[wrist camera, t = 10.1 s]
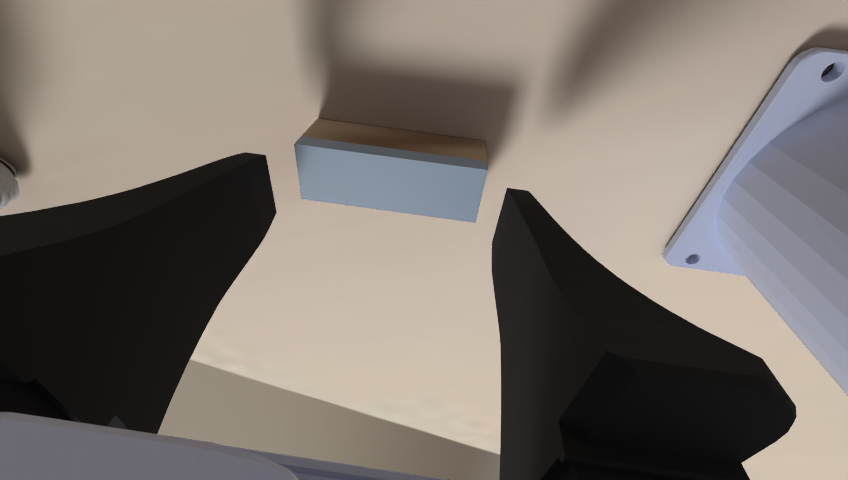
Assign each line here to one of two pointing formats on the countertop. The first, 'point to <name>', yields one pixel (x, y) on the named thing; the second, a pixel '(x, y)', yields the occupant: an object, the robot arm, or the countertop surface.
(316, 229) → the countertop surface
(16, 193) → the light bulb
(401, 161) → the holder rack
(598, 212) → the countertop surface
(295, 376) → the countertop surface
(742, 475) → the robot arm
